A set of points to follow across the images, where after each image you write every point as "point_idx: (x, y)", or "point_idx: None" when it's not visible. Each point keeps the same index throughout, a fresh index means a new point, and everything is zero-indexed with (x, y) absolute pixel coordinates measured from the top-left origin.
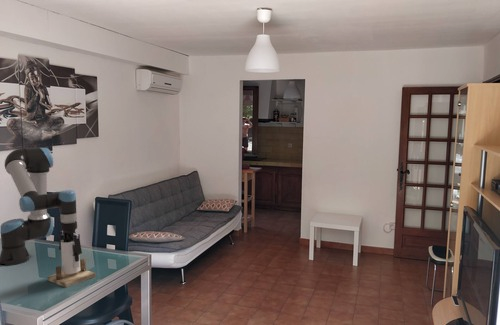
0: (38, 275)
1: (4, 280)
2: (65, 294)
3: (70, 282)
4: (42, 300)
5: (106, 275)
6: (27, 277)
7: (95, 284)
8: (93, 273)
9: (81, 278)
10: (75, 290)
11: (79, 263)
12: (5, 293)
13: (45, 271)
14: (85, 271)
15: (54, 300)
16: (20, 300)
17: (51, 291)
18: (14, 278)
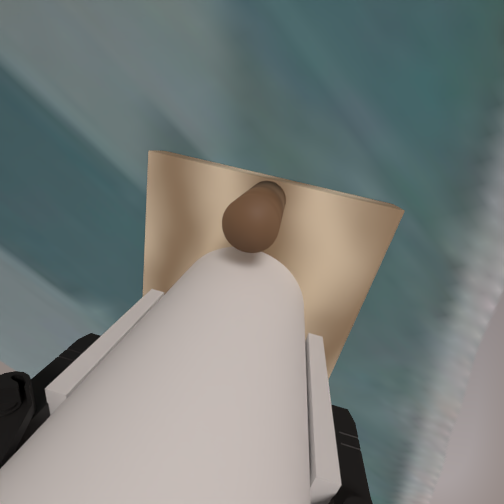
0: (51, 288)
1: (3, 362)
2: (375, 433)
3: (329, 374)
4: None
5: (479, 145)
6: (38, 319)
7: (477, 314)
8: (396, 225)
9: (354, 314)
10: (396, 396)
11: (296, 317)
12: None
13: (20, 232)
14: (296, 209)
15: (368, 476)
16: None
17: None
18: (8, 340)
